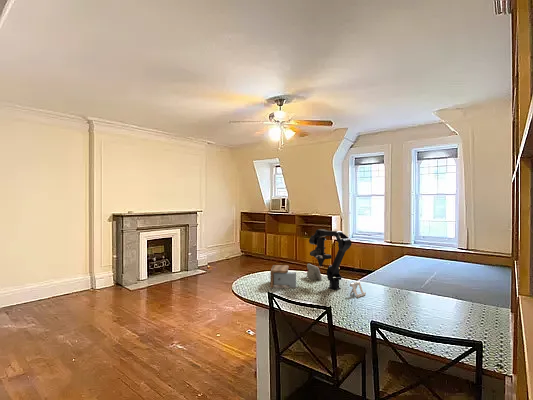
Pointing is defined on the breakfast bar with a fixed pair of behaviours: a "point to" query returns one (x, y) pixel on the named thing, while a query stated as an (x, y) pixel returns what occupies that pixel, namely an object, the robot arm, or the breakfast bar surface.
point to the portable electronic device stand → (355, 289)
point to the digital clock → (313, 272)
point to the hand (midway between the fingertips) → (320, 266)
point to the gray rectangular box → (285, 279)
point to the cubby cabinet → (278, 270)
